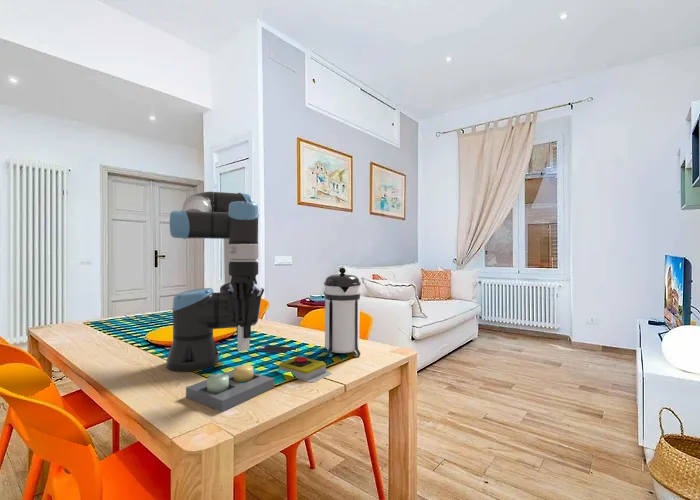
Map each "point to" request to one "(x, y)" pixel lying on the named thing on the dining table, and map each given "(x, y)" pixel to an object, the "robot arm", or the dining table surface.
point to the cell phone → (275, 349)
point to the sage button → (217, 383)
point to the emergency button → (305, 368)
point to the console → (230, 392)
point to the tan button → (243, 373)
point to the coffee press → (342, 313)
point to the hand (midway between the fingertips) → (243, 349)
